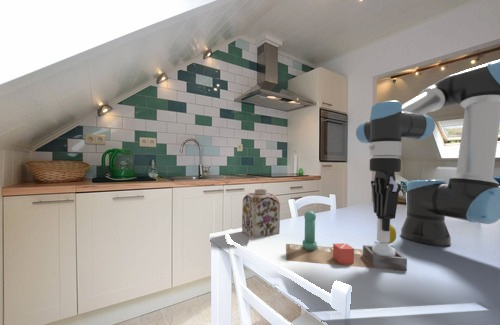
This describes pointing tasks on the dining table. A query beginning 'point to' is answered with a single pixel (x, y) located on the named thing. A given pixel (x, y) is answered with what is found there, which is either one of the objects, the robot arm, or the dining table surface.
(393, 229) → the lemon
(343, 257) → the red cube
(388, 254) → the dome
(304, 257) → the board
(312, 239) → the pawn
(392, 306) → the dining table surface
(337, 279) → the dining table surface
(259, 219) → the decorative jar
